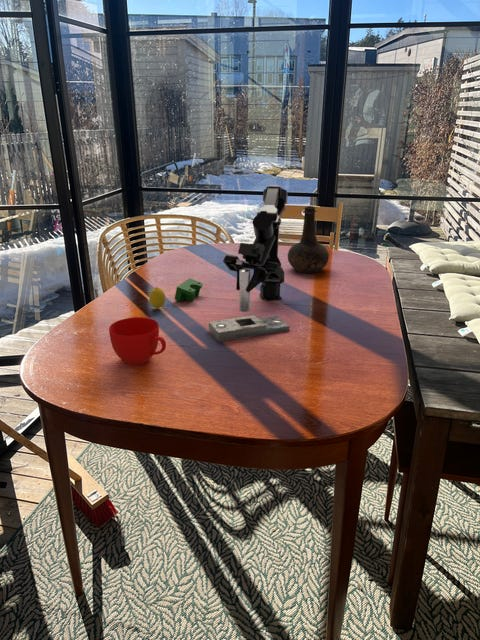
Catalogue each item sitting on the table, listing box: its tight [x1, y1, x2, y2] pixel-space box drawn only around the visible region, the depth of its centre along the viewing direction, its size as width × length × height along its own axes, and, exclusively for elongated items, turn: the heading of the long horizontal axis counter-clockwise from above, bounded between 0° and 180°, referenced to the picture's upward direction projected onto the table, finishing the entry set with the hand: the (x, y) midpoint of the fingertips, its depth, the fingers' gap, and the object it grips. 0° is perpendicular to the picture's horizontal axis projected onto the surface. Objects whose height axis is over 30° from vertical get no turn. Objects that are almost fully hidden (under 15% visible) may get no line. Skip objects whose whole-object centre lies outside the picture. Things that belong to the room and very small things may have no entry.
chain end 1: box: [208, 314, 266, 343], centre depth 146 cm, size 16×9×3 cm, turn 112°
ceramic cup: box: [108, 316, 167, 366], centre depth 126 cm, size 13×17×10 cm
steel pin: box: [238, 269, 251, 313], centre depth 142 cm, size 3×3×12 cm
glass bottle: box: [287, 205, 330, 274], centre depth 206 cm, size 18×18×28 cm
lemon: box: [148, 286, 166, 310], centre depth 163 cm, size 6×6×8 cm
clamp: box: [174, 278, 203, 302], centre depth 175 cm, size 12×6×9 cm, turn 156°
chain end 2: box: [235, 315, 290, 340], centre depth 148 cm, size 18×9×2 cm, turn 112°
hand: (242, 290), depth 141 cm, fingers closed on steel pin, 3 cm apart
